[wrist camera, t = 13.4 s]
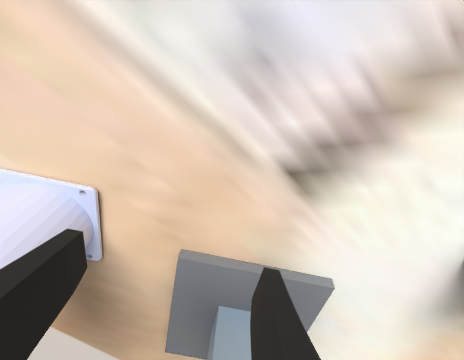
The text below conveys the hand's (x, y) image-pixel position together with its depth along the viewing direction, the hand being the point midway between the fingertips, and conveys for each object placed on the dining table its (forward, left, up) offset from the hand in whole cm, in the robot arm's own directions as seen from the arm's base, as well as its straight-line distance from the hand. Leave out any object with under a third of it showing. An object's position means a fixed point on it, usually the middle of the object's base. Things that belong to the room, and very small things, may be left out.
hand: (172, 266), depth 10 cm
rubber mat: (+6, -17, -9) cm, 20 cm away
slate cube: (+6, -17, -8) cm, 20 cm away
